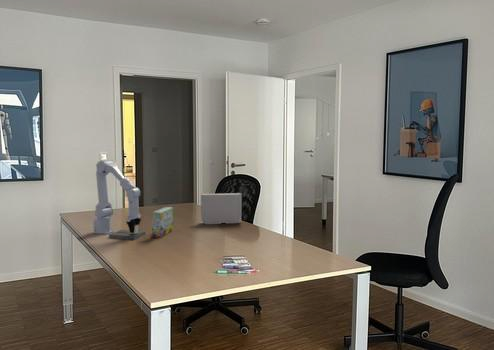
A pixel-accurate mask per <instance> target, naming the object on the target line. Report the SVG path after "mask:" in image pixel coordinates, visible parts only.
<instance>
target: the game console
mask: <svg viewBox="0 0 494 350" xmlns="http://www.w3.org/2000/svg"><path fill="white" fill-rule="evenodd" d="M242 200H243V196H242V193H241V192H236V193H235V192H234V193H233V192H231V193H200V220H201V221H202V222H203V224H205V225H217V224H218V225H220V224H221V223H226V224H241V223H242V221H243V220H242V209H243V207H242Z"/></svg>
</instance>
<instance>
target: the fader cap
mask: <svg viewBox="0 0 494 350" xmlns="http://www.w3.org/2000/svg"><path fill="white" fill-rule="evenodd" d="M139 229H140V228H139V227H138V225H135V228H134V233H130V230H129V229H128V230H129V233H130V234H136V233H138V232H139V231H140V230H139Z"/></svg>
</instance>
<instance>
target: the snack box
mask: <svg viewBox="0 0 494 350" xmlns="http://www.w3.org/2000/svg"><path fill="white" fill-rule="evenodd" d="M151 214H152V215H151V216H152V217H151V218H152V222H151V224H152V225H151V238H154V239H155V238H156V239H157V238H159V239H160V238H162V237H164V236H165V235H167V234H169V233H171V232H173V230H174V224H173V223H174V207H170V206H165V207H162V208H160V209H157V210H155V211H153V212H152V213H151Z"/></svg>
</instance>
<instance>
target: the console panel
mask: <svg viewBox="0 0 494 350" xmlns="http://www.w3.org/2000/svg"><path fill="white" fill-rule="evenodd" d="M144 236H146V231H144V230H139V232H138V233H136V234H130V233H129V229H128V230H127V229H119V230H118V231H115V232H114V231H113V232H111V233H109V235H108V238H109V239H117V240H118V239H119V240H130V241H133V240H134V241H135V240H138V239H140V238H142V237H144Z"/></svg>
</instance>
